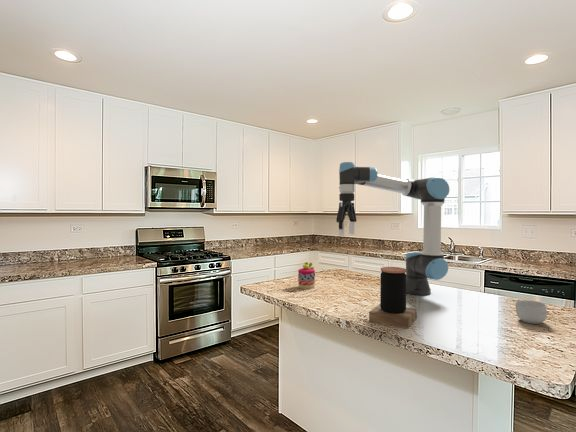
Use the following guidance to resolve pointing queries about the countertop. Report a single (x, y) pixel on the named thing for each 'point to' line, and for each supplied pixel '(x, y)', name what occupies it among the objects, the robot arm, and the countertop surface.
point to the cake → (306, 277)
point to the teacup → (531, 311)
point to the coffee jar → (393, 290)
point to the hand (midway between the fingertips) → (346, 235)
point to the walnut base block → (393, 317)
